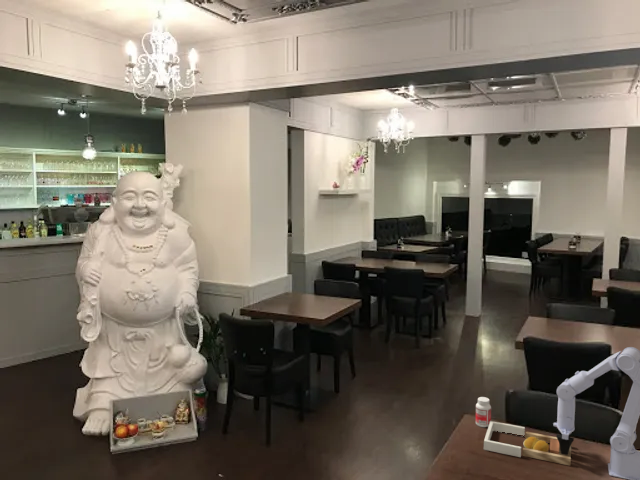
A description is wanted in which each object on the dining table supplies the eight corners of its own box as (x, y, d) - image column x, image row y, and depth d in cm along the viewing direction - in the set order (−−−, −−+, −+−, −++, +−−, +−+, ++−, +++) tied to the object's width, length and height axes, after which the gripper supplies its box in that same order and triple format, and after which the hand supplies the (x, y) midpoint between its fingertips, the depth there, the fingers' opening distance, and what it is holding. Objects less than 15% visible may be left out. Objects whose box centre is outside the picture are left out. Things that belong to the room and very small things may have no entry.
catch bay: (524, 435, 202) (524, 427, 202) (520, 457, 186) (520, 448, 186) (490, 428, 208) (490, 420, 208) (483, 449, 192) (483, 440, 191)
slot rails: (570, 446, 193) (570, 439, 193) (570, 465, 180) (570, 459, 180) (525, 437, 201) (525, 431, 200) (522, 455, 187) (522, 449, 187)
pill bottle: (485, 420, 216) (486, 395, 215) (493, 426, 210) (494, 401, 209) (472, 421, 214) (473, 397, 213) (480, 428, 208) (480, 403, 207)
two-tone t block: (570, 449, 191) (571, 434, 190) (570, 461, 183) (571, 446, 182) (550, 446, 194) (550, 431, 193) (549, 457, 186) (550, 442, 185)
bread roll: (543, 458, 186) (543, 447, 185) (520, 448, 193) (520, 438, 192) (553, 450, 191) (554, 440, 191) (531, 441, 198) (531, 431, 198)
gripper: (554, 404, 194) (553, 437, 196) (553, 420, 181) (552, 456, 183) (575, 407, 191) (573, 441, 193) (575, 424, 178) (573, 460, 180)
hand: (564, 449), depth 187 cm, fingers open, 7 cm apart
